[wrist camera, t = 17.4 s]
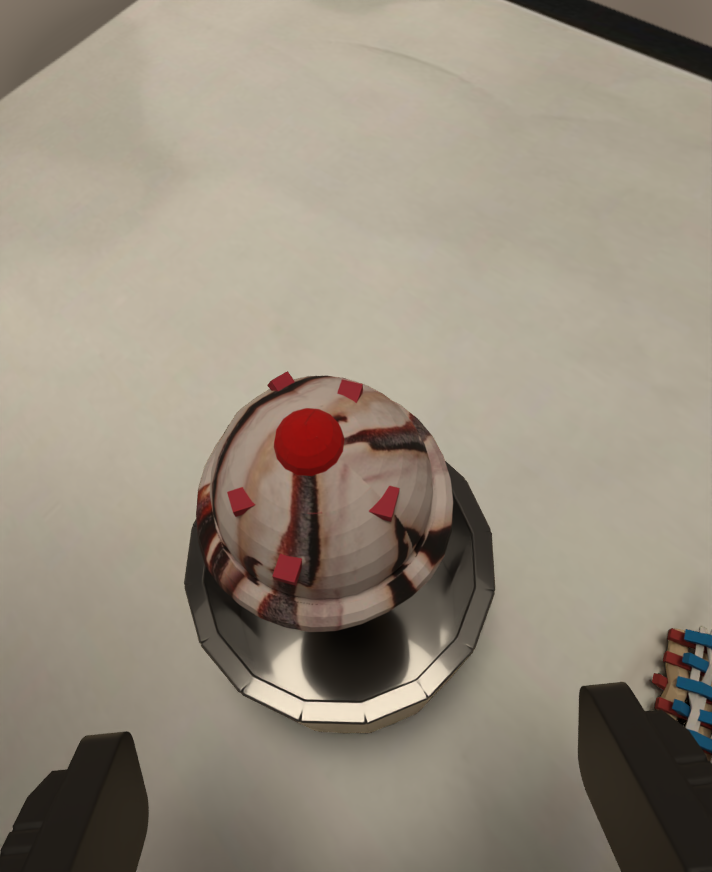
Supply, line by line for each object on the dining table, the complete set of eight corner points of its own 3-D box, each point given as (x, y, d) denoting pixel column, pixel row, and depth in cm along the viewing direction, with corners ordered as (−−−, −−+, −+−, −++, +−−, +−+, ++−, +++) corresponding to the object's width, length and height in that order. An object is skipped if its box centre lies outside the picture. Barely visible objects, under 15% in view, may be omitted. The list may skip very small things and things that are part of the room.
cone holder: (271, 775, 23) (236, 779, 17) (202, 539, 27) (154, 477, 21) (509, 675, 24) (549, 648, 19) (411, 462, 28) (420, 384, 22)
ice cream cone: (297, 515, 27) (213, 261, 13) (439, 552, 26) (505, 323, 12) (247, 661, 24) (85, 534, 11) (402, 708, 23) (434, 634, 10)
